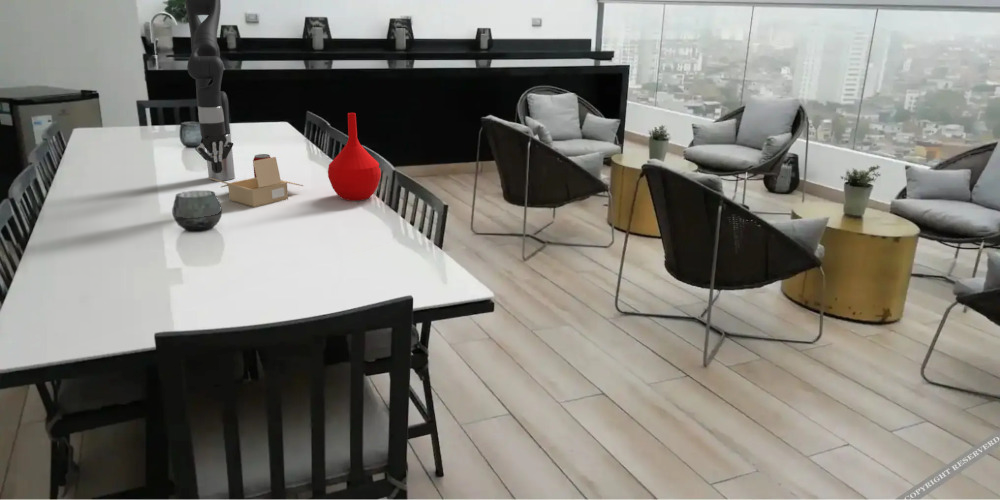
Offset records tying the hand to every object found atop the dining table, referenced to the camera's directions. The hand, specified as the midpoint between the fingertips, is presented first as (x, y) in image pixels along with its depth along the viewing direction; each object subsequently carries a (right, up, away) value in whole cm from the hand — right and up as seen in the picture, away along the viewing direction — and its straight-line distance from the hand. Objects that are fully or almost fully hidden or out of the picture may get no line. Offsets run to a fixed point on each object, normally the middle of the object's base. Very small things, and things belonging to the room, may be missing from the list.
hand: (217, 172), depth 242 cm
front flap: (+14, +1, +8) cm, 16 cm away
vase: (+42, -7, +20) cm, 47 cm away
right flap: (+2, -3, +4) cm, 5 cm away
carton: (+8, -6, +21) cm, 23 cm away
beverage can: (+6, -2, +31) cm, 32 cm away
